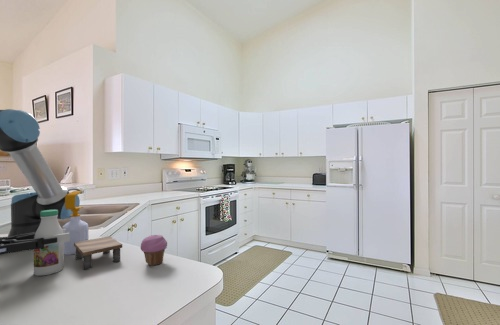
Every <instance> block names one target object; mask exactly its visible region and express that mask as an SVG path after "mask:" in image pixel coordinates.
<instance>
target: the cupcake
mask: <svg viewBox="0 0 500 325" xmlns="http://www.w3.org/2000/svg"><path fill="white" fill-rule="evenodd" d="M167 247H168V240H166V238H165V237H164V236H163V235H162V234H152V235H149V236H146V237H145V238H143V239H142V241H141V243H140V250H141V252H142V253H143V255H144V260H145V263H146V264H147V265H148V266H151V267H152V266H156V265H160V264H162V263H163V262H164V255H165V250H166V249H167Z"/></svg>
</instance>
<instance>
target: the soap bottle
mask: <svg viewBox="0 0 500 325" xmlns="http://www.w3.org/2000/svg"><path fill="white" fill-rule="evenodd" d="M81 193H83V191H82V190H72V191H71V192H69V194H67V195H66V196H65V209H71V211H72V212H73V215H70V218H69V219H70V221H68V222H66V223H65V224H64V225H62V226H61V228H62V229H66V233H70V241H69V242H64V256H69V255H76V248H75V246H74V243H75V242H80V241H86V240H89V224H88V223H87V222H86V221H85V220H81V214H79V211H80V210H81V209H84V206H79V207H75V197H76V195H78V196H79V195H80V194H81Z"/></svg>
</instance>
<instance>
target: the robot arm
mask: <svg viewBox="0 0 500 325" xmlns="http://www.w3.org/2000/svg"><path fill="white" fill-rule="evenodd" d="M39 124H40V123H39V122H38V120H37V119H36V118H35V117H34V116H33V115H32V114H31V113H29V112H27V111H24V110H20V109H19V110H18V109H11V108H9V109H7V108H5V109H0V151H1V152H3V153H7V154H9V155H10V157H11V158H12V160H13V161H14V162H15V164H16V165H17V167H18V169H19V170H20V171H21V173H22V174H23V176H24V177H25V178H26V180H27V182H28V183H29V184H30V186H31V187H32V189H33V190H34V192H25V193H20V194H19V193H18V194H15V195H13V196H12V197H11V201H10V202H11V203H10V225H11V226H10V230H9V233H8V235H7V236H2V237H1V236H0V256H2V255H6V254H13V253H19V252H25V251H34V249H40V248H41V249H44V246H47V245H52V244H58V243H64V242H69V241H70V233H66V229H62V230H63V234H59V235H52V236H46V237H44V238H38V239H34V237H35V233H36V231H37V229H38V227H39V225H40V223H41V218H40V217H41V216H40V212H41V211H45V210H58V216H57V220H66V219H67V220H69V219H70V215H73V212H72V211H71V209H65V196H66V195H67V194H69V193H70V192H69V190H68V188H67V187H65V186H63V185H61V184H60V182H59V180H58V179H57V178H56V176H55V174H54V172H53V171H52V168H51V167H50V165H49V164H48V162H47V160H46V158H45V157H44V156H43V154H42V152H41V150H40V149H39V147H38V145H37V143H38V141H39V137H40V134H41V131H40V129H41V127H40V125H39ZM80 200H81V199H80V196H79V194H78V195H76V197H75V207H80Z"/></svg>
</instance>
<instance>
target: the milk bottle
mask: <svg viewBox="0 0 500 325" xmlns="http://www.w3.org/2000/svg"><path fill="white" fill-rule="evenodd" d="M40 216H41V217H40V218H41V223H40V225H39V227H38V229H37V231H36V233H35V237H34V239H38V238H44V237H46V236H52V235H59V234H63V230H62V226H61V225H60V222H59V219H57V216H58V210H45V211H41V212H40ZM64 257H65V254H64V243H58V244H52V245H47V246H44V249H41V248H40V249H33V274H34V276H36V277H38V276H48V275H53V274H57V273H58V272H60V271H63V269H64V267H65V266H64V264H65V258H64Z"/></svg>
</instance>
